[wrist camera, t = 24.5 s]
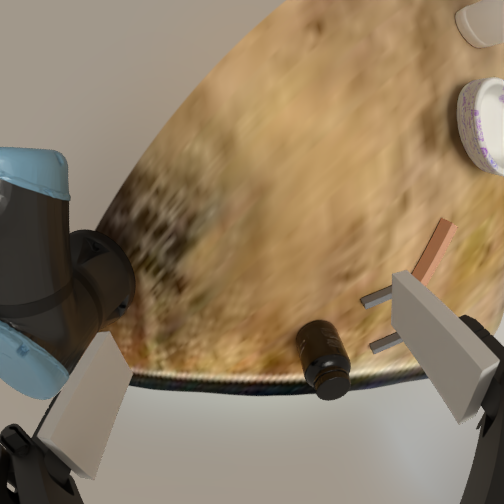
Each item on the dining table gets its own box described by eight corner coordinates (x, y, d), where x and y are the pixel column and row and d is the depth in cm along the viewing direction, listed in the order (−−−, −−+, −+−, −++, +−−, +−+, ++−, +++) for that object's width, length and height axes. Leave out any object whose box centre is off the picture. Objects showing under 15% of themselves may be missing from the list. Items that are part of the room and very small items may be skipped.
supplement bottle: (287, 333, 45) (299, 387, 34) (326, 311, 44) (348, 362, 33) (307, 359, 47) (321, 411, 36) (342, 339, 46) (365, 389, 35)
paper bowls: (430, 126, 34) (463, 125, 27) (464, 64, 30) (495, 57, 23) (481, 188, 38) (512, 198, 30) (510, 127, 33) (540, 130, 26)
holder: (451, 309, 45) (459, 317, 42) (370, 348, 47) (376, 358, 44) (446, 215, 39) (457, 220, 36) (350, 254, 41) (357, 262, 38)
